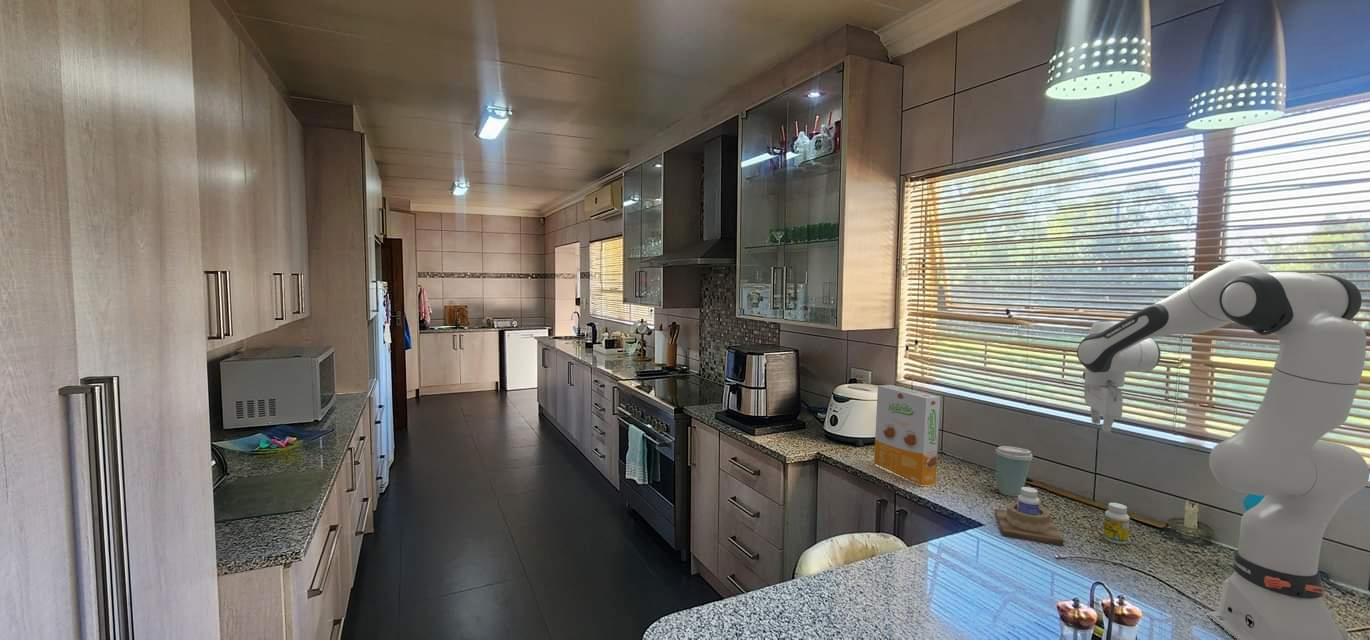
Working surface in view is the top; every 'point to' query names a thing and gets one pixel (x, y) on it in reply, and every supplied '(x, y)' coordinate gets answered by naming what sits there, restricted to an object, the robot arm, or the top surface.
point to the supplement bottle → (1116, 524)
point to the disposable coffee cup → (1012, 469)
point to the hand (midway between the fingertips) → (1100, 427)
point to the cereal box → (907, 433)
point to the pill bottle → (1028, 501)
